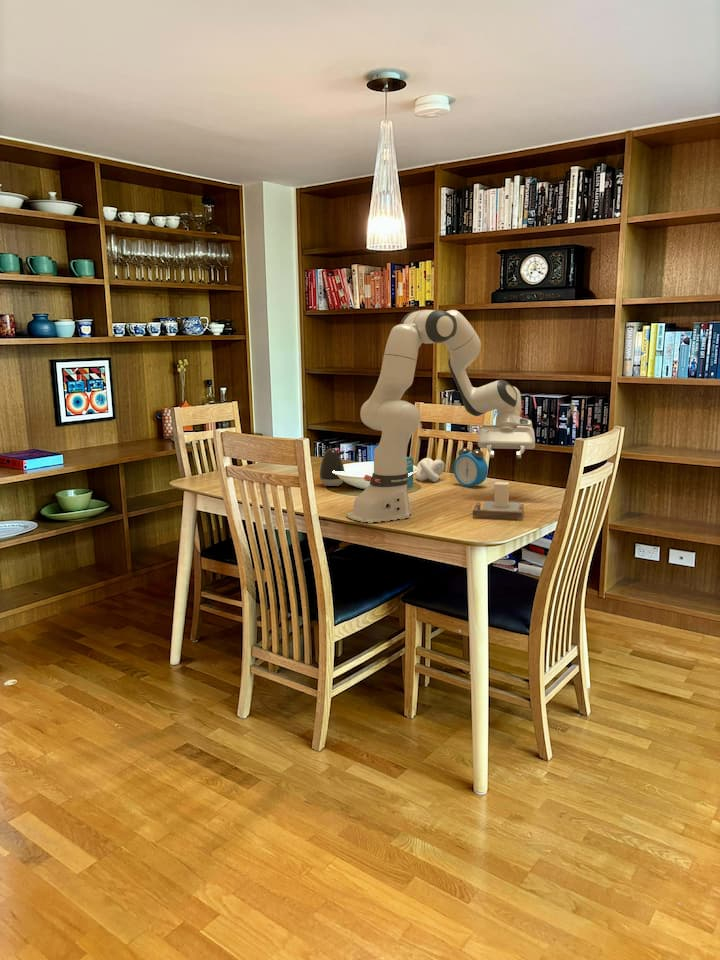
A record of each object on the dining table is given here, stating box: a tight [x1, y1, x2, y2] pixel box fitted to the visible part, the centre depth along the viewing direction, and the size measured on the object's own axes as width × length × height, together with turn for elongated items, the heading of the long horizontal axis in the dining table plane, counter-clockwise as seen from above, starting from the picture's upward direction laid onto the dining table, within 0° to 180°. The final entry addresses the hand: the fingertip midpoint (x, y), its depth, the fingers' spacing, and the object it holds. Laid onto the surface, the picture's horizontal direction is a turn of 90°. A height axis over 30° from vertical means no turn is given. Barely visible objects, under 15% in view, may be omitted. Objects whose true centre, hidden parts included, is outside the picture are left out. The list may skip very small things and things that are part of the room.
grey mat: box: [481, 500, 521, 512], centre depth 254 cm, size 12×12×2 cm
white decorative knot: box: [415, 457, 445, 483], centre depth 304 cm, size 11×12×9 cm
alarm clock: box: [452, 447, 489, 488], centre depth 293 cm, size 13×6×15 cm, turn 44°
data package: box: [407, 456, 414, 489], centre depth 291 cm, size 12×4×12 cm, turn 147°
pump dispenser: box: [319, 448, 345, 487], centre depth 298 cm, size 10×10×15 cm
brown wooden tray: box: [472, 502, 525, 522], centre depth 242 cm, size 12×15×4 cm
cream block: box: [493, 481, 510, 508], centre depth 253 cm, size 4×4×8 cm
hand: (505, 456), depth 261 cm, fingers open, 8 cm apart
